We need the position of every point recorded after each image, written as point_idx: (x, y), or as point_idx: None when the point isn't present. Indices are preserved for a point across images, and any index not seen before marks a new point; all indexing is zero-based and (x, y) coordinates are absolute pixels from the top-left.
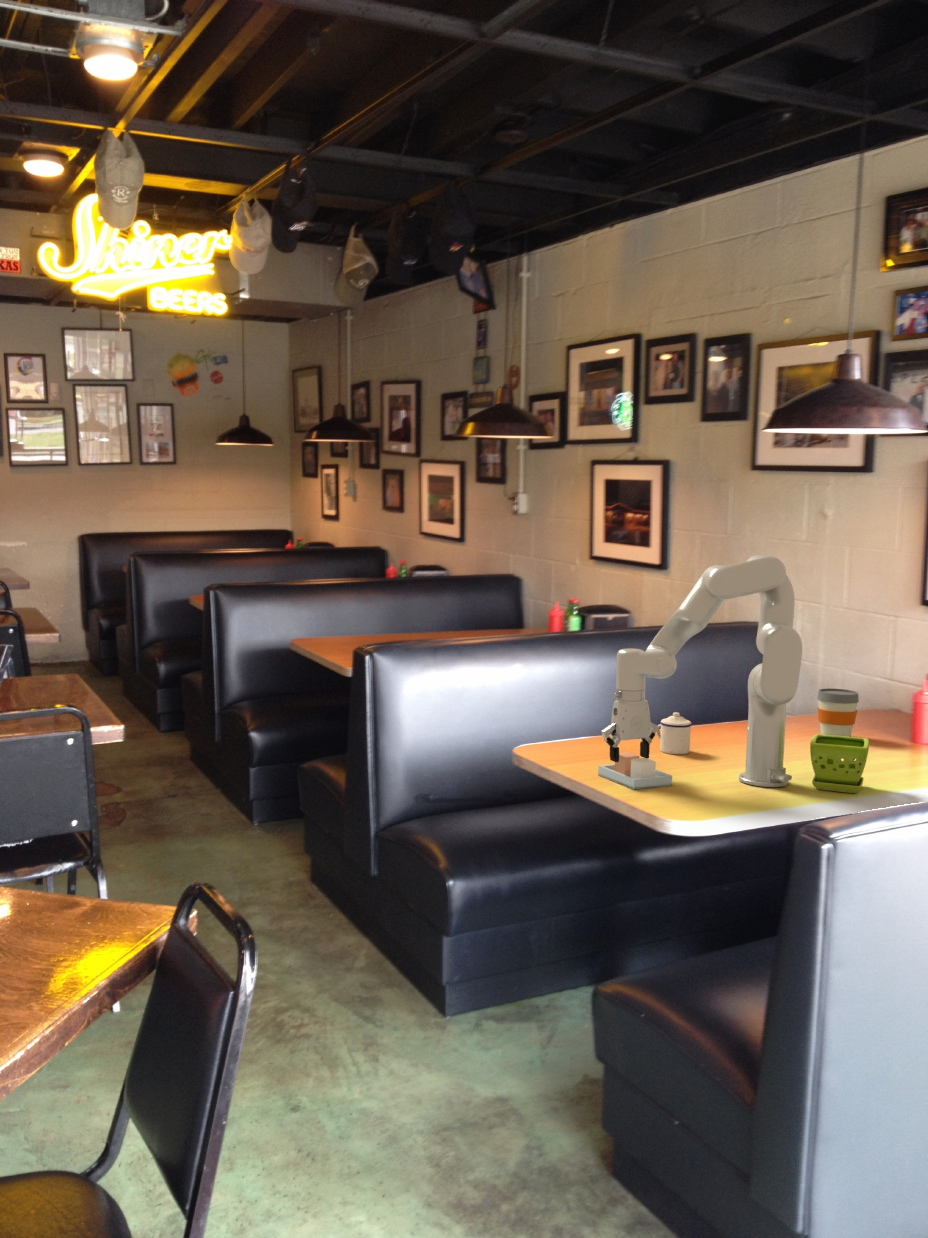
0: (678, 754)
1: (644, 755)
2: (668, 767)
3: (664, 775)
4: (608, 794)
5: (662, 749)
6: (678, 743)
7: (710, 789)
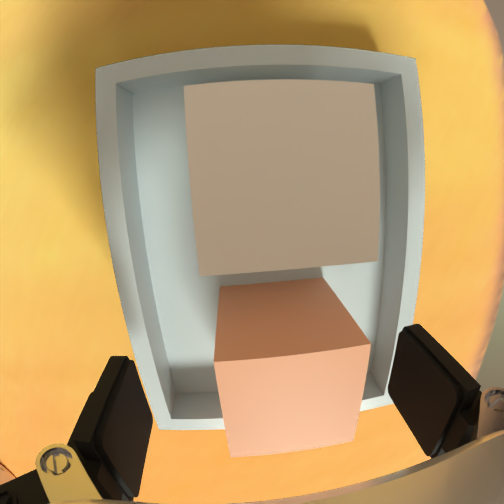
0: None
1: (136, 389)
2: (14, 386)
3: (119, 121)
4: (499, 84)
5: None
6: None
7: (11, 13)
